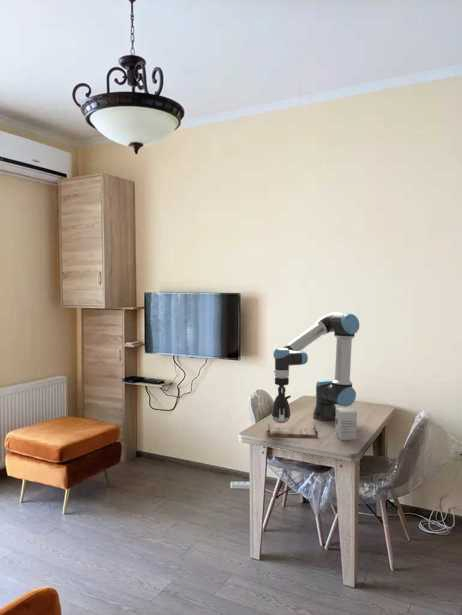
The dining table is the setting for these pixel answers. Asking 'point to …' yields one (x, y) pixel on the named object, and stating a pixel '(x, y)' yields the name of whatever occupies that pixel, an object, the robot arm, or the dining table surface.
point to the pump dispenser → (276, 411)
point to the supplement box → (346, 423)
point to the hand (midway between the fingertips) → (281, 417)
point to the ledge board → (292, 432)
